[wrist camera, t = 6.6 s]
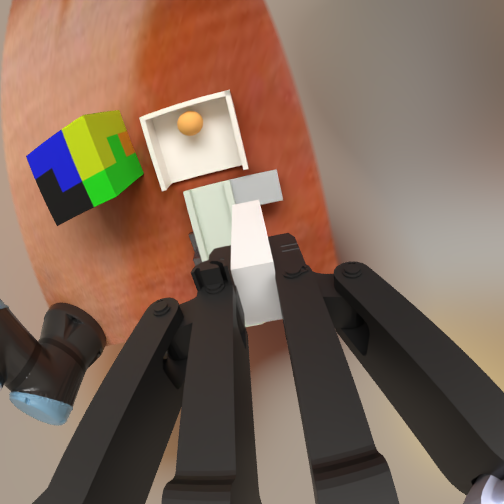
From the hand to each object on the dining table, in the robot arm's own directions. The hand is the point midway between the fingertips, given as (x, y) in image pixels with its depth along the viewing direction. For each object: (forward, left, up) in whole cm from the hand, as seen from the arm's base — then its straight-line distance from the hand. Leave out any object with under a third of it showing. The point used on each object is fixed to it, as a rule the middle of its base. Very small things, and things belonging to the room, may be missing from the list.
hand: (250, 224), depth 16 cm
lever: (-2, -12, -19) cm, 23 cm away
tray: (-5, +4, -23) cm, 24 cm away
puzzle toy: (-19, +6, -23) cm, 31 cm away
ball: (-5, +6, -21) cm, 22 cm away
